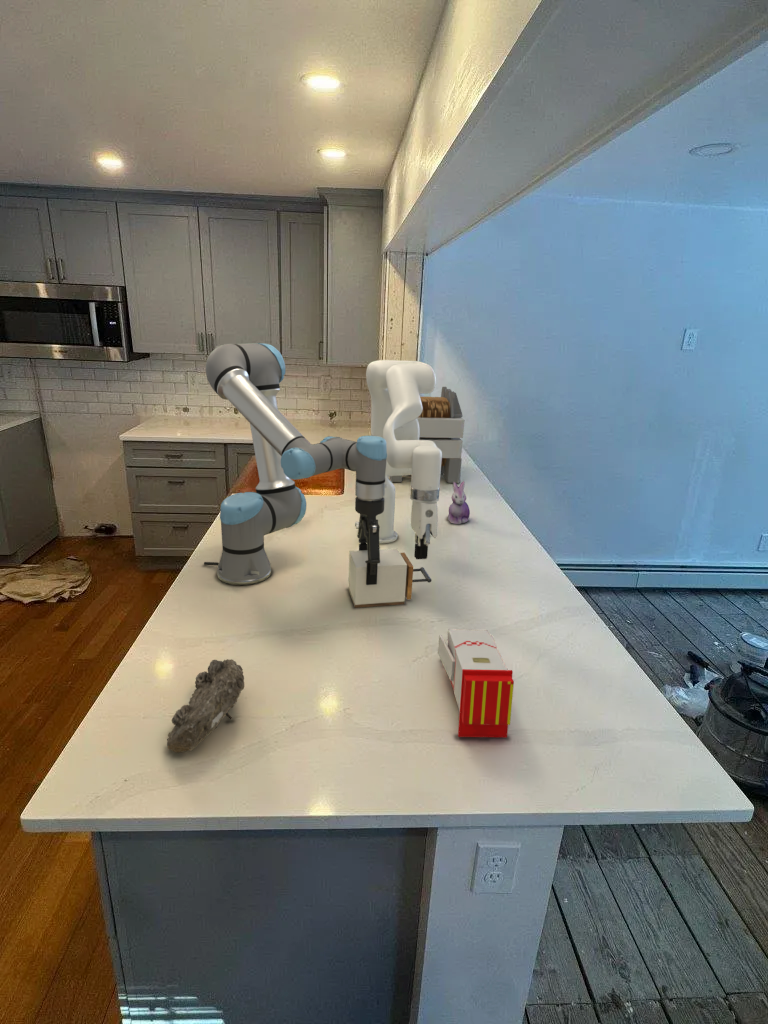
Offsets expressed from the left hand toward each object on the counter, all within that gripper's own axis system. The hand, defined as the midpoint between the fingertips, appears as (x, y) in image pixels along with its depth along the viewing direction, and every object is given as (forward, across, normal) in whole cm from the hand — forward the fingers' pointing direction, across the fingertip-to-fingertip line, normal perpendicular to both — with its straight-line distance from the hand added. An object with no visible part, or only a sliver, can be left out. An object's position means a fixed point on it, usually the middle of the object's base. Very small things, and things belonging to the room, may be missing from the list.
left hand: (367, 574), depth 153 cm
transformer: (+7, +119, -49) cm, 129 cm away
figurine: (+7, +54, -46) cm, 72 cm away
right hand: (-4, 0, -15) cm, 15 cm away
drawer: (+6, 0, -8) cm, 10 cm away
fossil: (+7, -42, +38) cm, 57 cm away
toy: (+7, -43, -14) cm, 46 cm away
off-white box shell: (+7, 0, -3) cm, 7 cm away
